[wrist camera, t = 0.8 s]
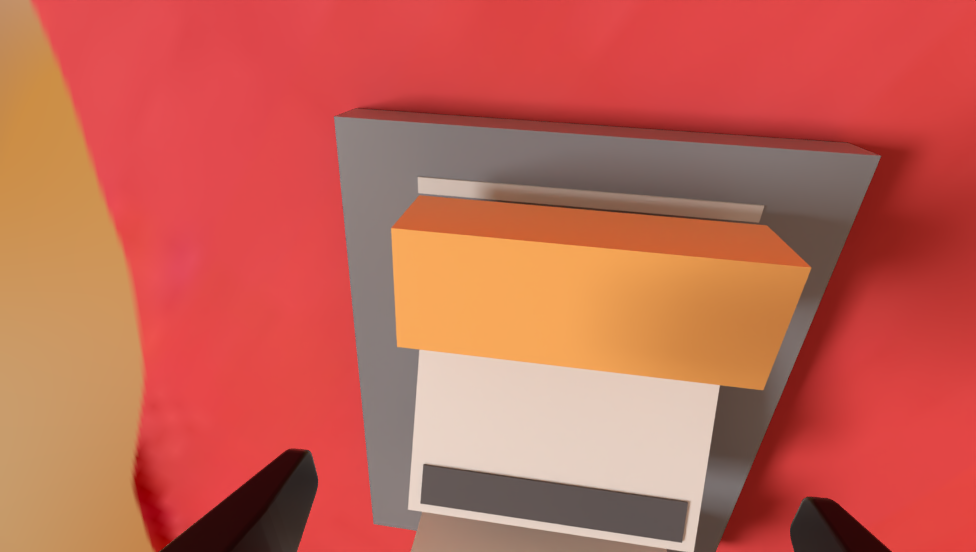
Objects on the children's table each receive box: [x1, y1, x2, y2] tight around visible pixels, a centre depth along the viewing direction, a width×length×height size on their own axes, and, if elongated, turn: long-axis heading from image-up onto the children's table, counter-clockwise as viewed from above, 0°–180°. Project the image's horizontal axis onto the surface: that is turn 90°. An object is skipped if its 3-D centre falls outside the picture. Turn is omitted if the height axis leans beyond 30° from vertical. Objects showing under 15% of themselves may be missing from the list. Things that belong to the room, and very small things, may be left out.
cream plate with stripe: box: [408, 350, 720, 552], centre depth 19 cm, size 11×7×1 cm, turn 88°
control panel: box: [334, 108, 881, 552], centre depth 21 cm, size 18×22×4 cm
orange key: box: [391, 195, 811, 390], centre depth 15 cm, size 11×4×3 cm, turn 88°
